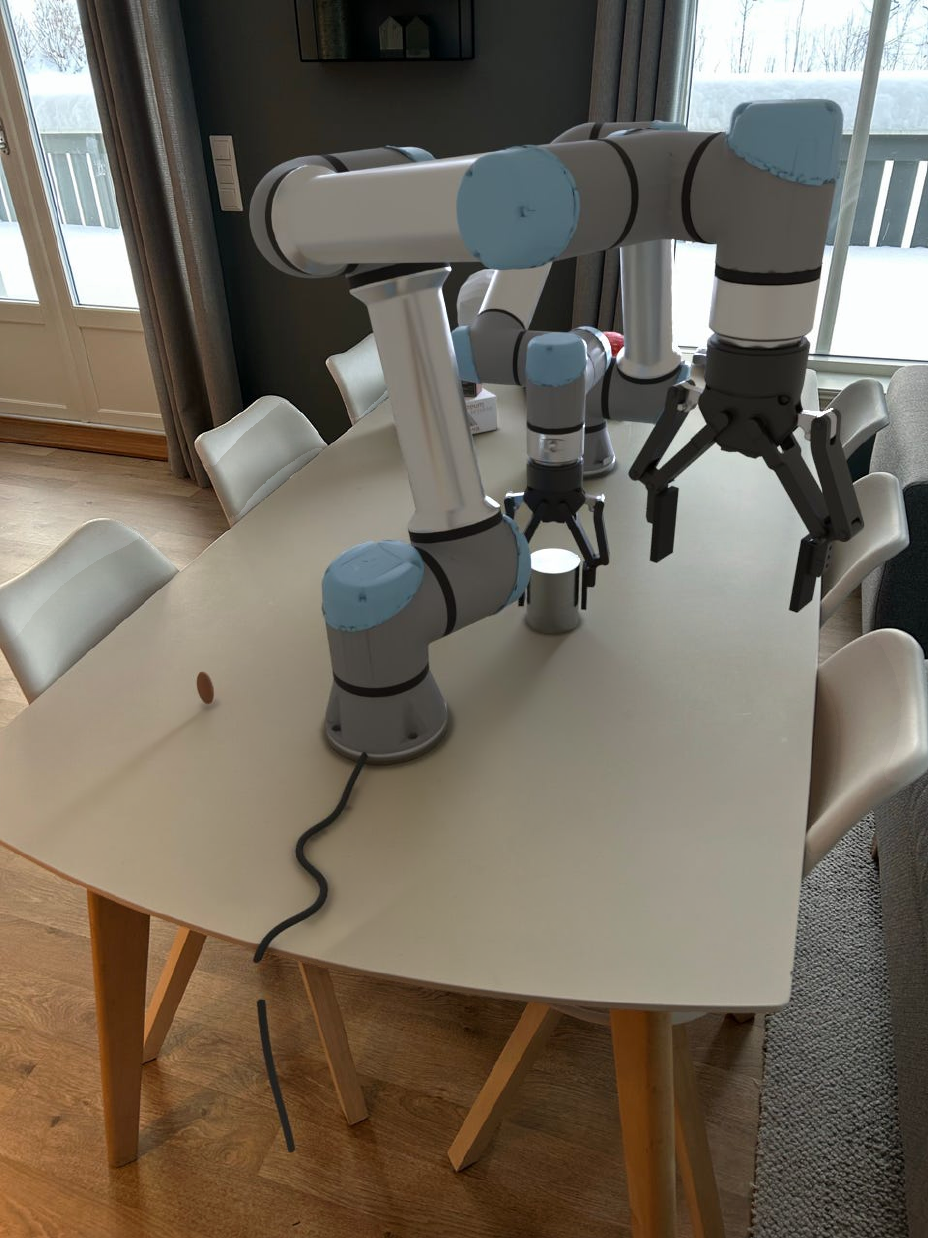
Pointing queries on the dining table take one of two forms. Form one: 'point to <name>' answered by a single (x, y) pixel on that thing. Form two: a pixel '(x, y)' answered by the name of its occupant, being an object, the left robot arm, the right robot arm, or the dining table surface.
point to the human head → (473, 296)
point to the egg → (205, 687)
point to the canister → (553, 591)
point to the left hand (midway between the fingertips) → (727, 580)
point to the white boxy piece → (480, 407)
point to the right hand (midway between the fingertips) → (552, 603)
